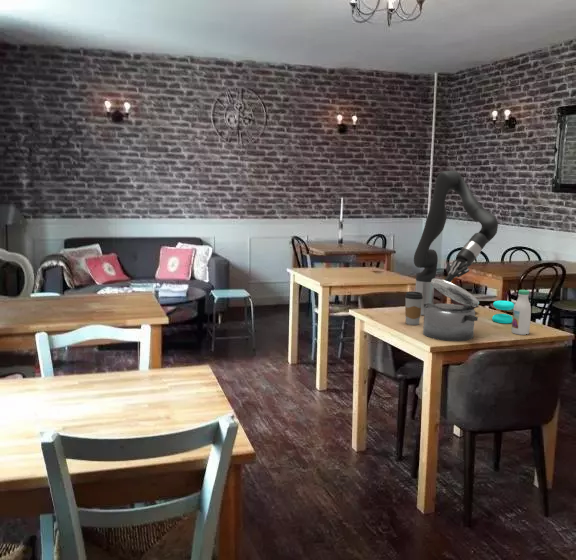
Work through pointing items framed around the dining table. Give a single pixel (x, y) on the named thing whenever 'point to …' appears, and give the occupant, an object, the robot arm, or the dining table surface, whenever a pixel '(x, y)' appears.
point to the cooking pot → (449, 322)
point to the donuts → (503, 317)
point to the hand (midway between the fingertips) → (446, 281)
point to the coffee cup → (413, 307)
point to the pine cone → (460, 303)
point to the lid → (455, 292)
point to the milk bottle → (521, 314)
